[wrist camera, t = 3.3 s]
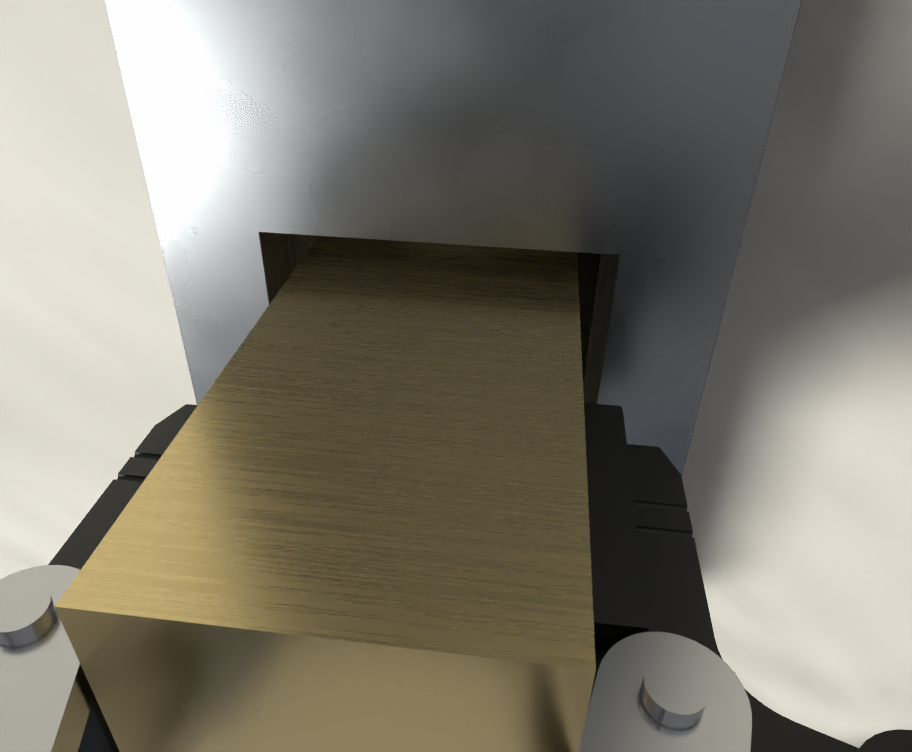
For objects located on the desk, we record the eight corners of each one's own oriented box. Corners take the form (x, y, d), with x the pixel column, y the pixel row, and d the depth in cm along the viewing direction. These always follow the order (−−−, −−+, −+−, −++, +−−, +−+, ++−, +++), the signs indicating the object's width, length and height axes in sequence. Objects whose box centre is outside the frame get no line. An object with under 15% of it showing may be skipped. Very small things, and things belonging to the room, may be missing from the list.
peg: (341, 203, 12) (55, 606, 5) (575, 218, 12) (596, 670, 5) (355, 393, 15) (165, 853, 8) (552, 410, 14) (545, 909, 7)
